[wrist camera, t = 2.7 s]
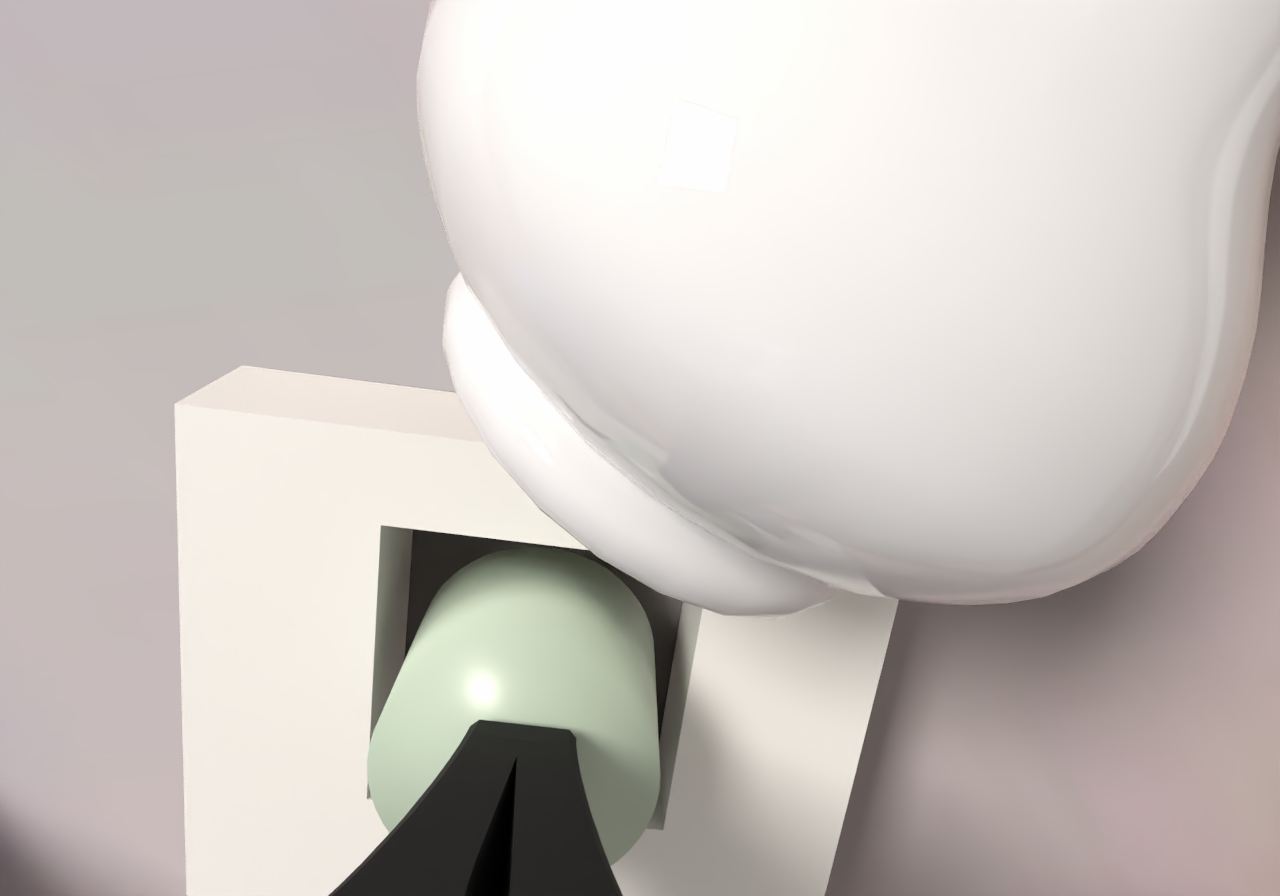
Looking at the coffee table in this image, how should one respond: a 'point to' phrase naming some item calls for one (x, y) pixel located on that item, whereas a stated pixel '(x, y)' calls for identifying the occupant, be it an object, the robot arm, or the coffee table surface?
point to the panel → (376, 636)
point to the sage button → (529, 683)
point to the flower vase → (852, 278)
